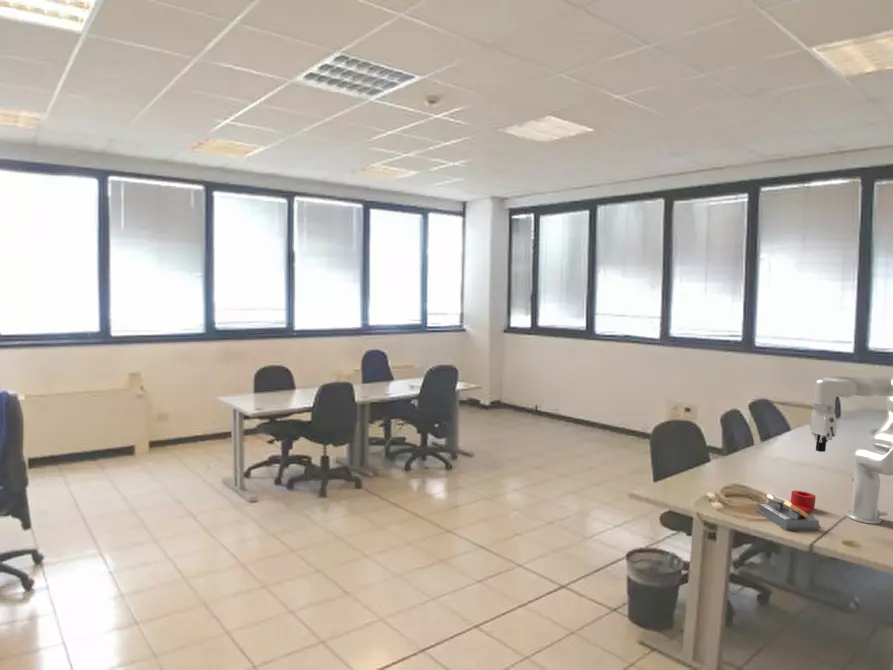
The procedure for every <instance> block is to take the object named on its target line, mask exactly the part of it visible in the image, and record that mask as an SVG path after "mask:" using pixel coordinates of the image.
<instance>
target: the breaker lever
mask: <svg viewBox="0 0 893 670" xmlns="http://www.w3.org/2000/svg"><path fill="white" fill-rule="evenodd" d="M788 501H789V500H787V501H785V502H784V504H785V505H787V506H788V507H790V509H792V510H793V511H795V512H797V513H799V514H801V515H802V516H804V517H806V518H807V516H808V515H809V514H807V513H805V512H804V511H802V510H801V509H799V508H798V507H796V506H795V505H793V504H792V503H790V502H791V501H789V502H788Z"/></svg>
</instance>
